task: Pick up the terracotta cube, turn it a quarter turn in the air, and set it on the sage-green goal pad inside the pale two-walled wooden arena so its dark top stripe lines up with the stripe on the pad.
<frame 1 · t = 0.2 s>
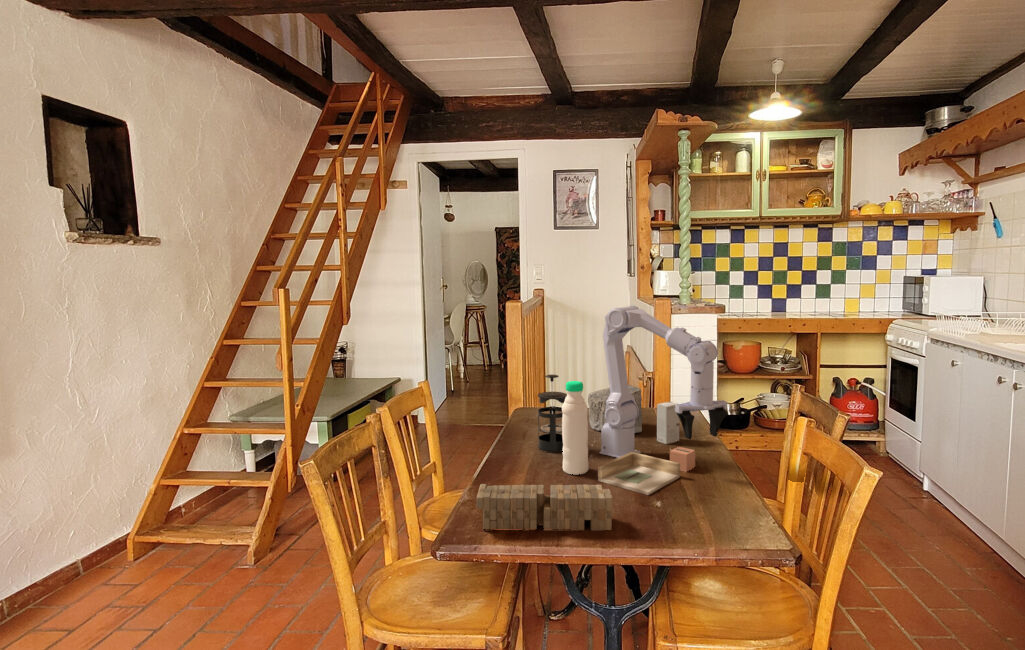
hand: (700, 436, 161), 10 cm above the table, tool pointing down, fingers open, 7 cm apart
terracotta cube: (682, 468, 166), on the table
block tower: (544, 525, 134), on the table
skincare box: (668, 441, 190), on the table
grey brown chunky block: (615, 428, 206), on the table
french press: (553, 448, 186), on the table
arena: (639, 478, 158), on the table
milk bottle: (575, 471, 166), on the table
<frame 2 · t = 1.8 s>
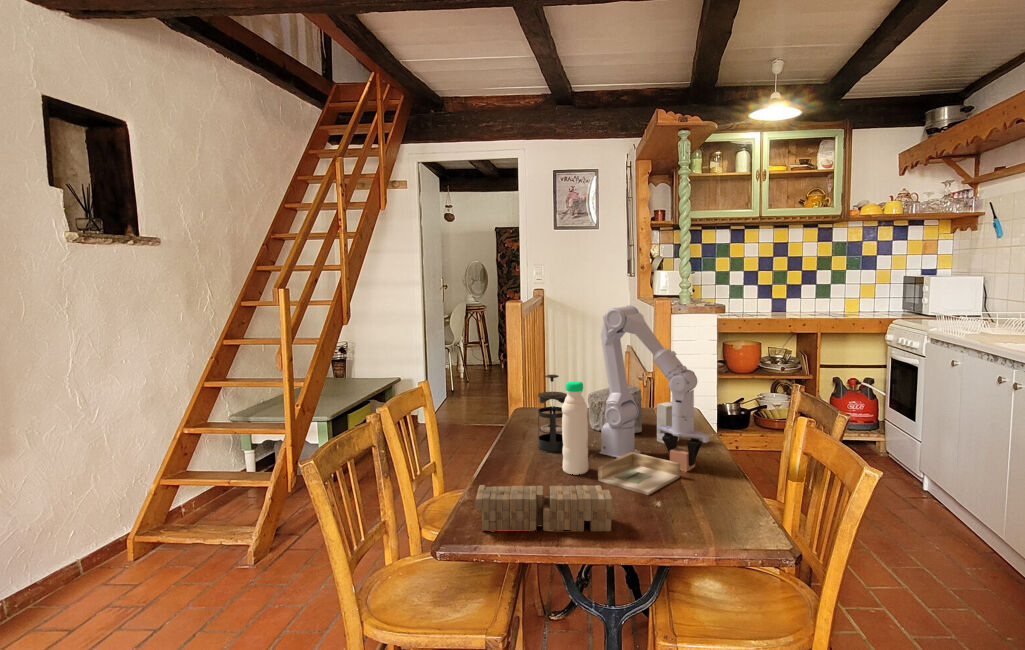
hand: (682, 462, 166), 1 cm above the table, tool pointing down, fingers closed on terracotta cube, 5 cm apart
terracotta cube: (682, 467, 166), on the table, touching gripper
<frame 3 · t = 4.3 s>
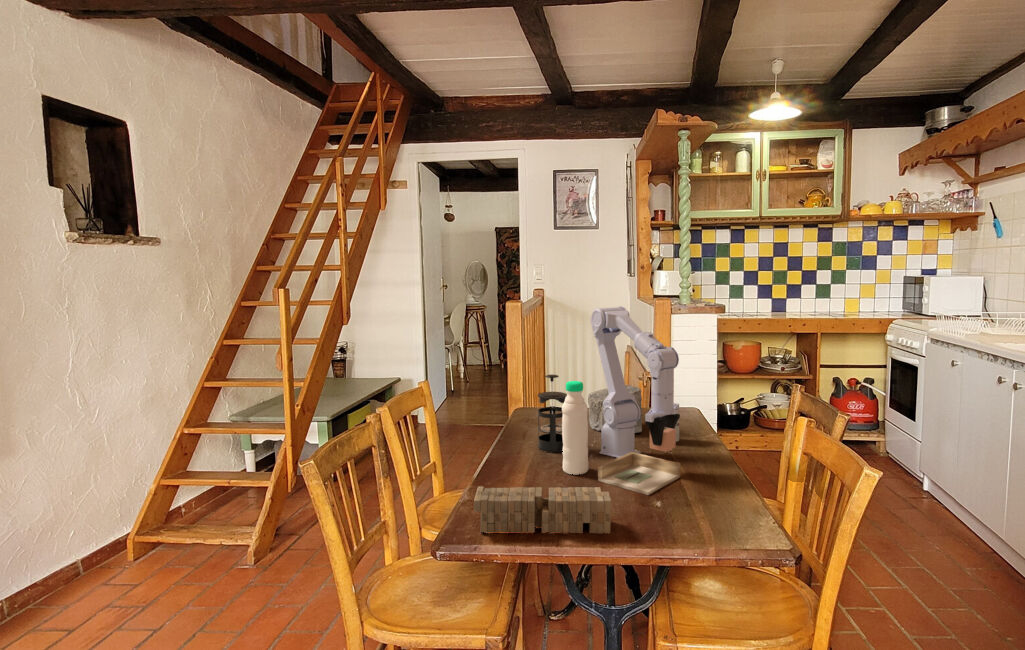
hand: (662, 442, 162), 8 cm above the table, tool pointing down, fingers closed on terracotta cube, 5 cm apart
terracotta cube: (662, 447, 162), point 7 cm above the table, touching gripper
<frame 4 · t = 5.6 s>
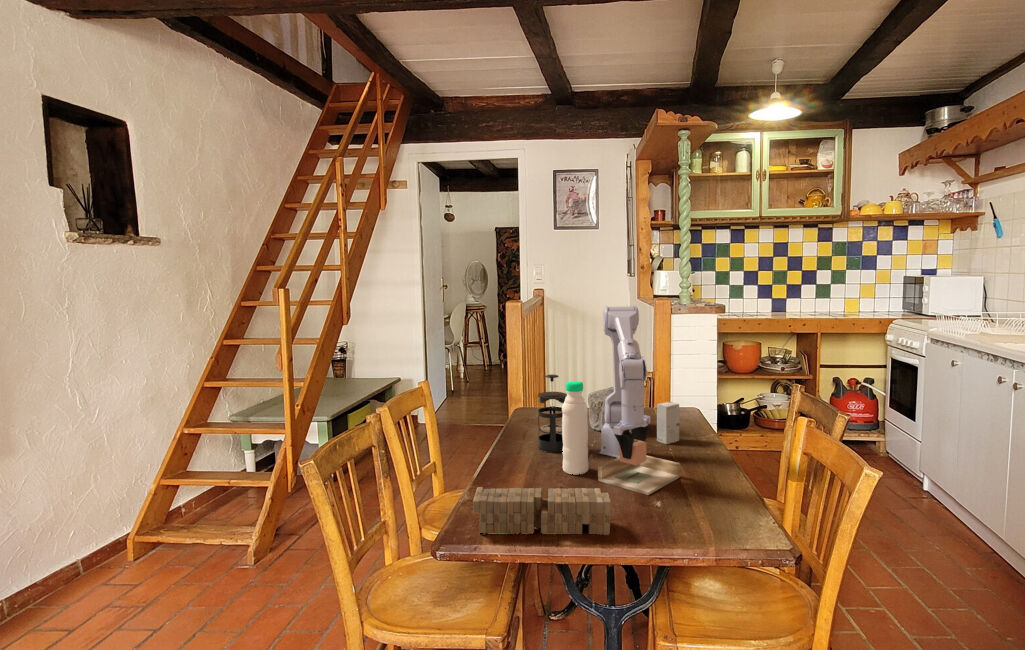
hand: (632, 455, 157), 7 cm above the table, tool pointing down, fingers closed on terracotta cube, 5 cm apart
terracotta cube: (633, 460, 157), point 5 cm above the table, touching gripper
when the fingers open (3 cm above the table, at t = 6.8 s): terracotta cube stays where it is, resting on arena.
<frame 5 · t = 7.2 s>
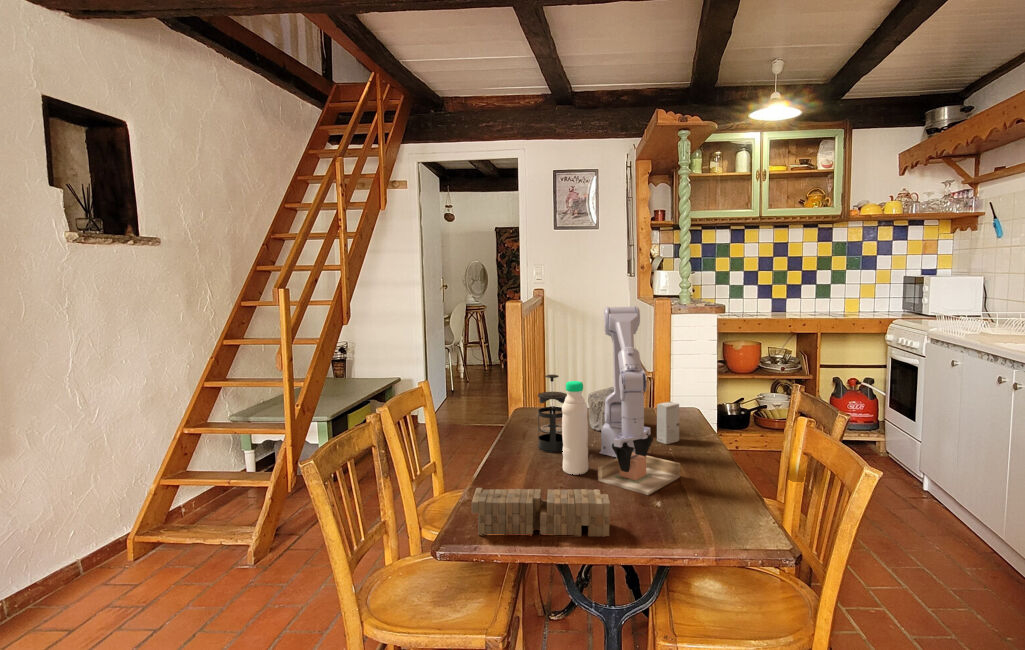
hand: (632, 467, 158), 3 cm above the table, tool pointing down, fingers open, 7 cm apart
terracotta cube: (633, 475, 158), point 1 cm above the table, touching arena
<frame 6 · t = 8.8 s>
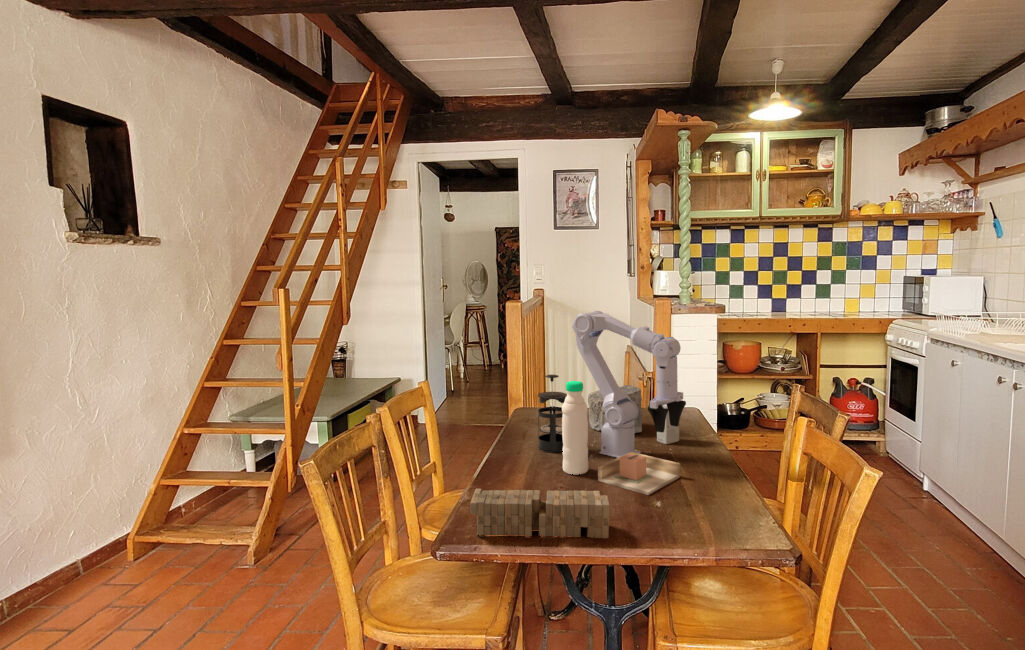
hand: (667, 428, 168), 10 cm above the table, tool pointing down, fingers open, 7 cm apart
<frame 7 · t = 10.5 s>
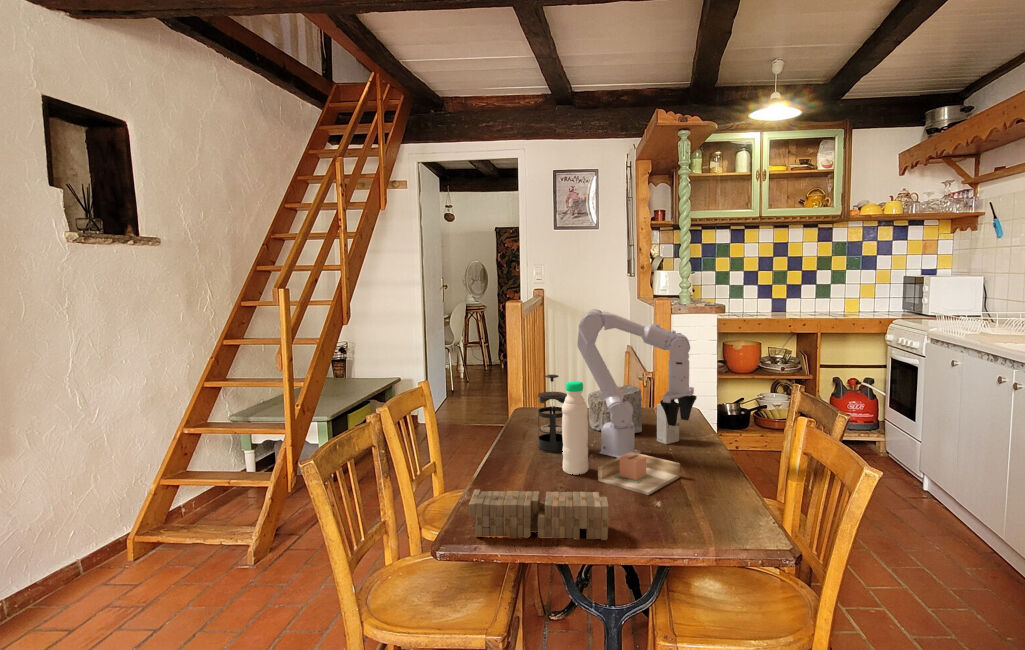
hand: (678, 422, 173), 10 cm above the table, tool pointing down, fingers open, 7 cm apart
at the end: terracotta cube 0.1 cm from the target spot on the arena, point 1.1 cm above the arena's base; terracotta cube tilted 0°; the gripper is holding nothing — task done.
